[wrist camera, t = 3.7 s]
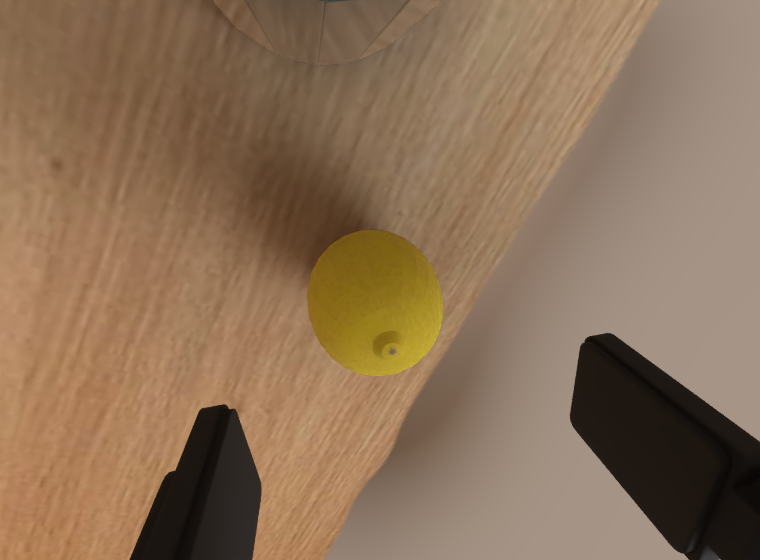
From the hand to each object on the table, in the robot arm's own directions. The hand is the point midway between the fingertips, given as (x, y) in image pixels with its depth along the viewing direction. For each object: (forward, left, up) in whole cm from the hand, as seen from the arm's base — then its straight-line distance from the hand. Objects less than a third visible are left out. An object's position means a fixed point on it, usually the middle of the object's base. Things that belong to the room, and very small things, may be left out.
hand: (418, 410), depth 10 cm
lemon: (0, 0, -11) cm, 11 cm away
